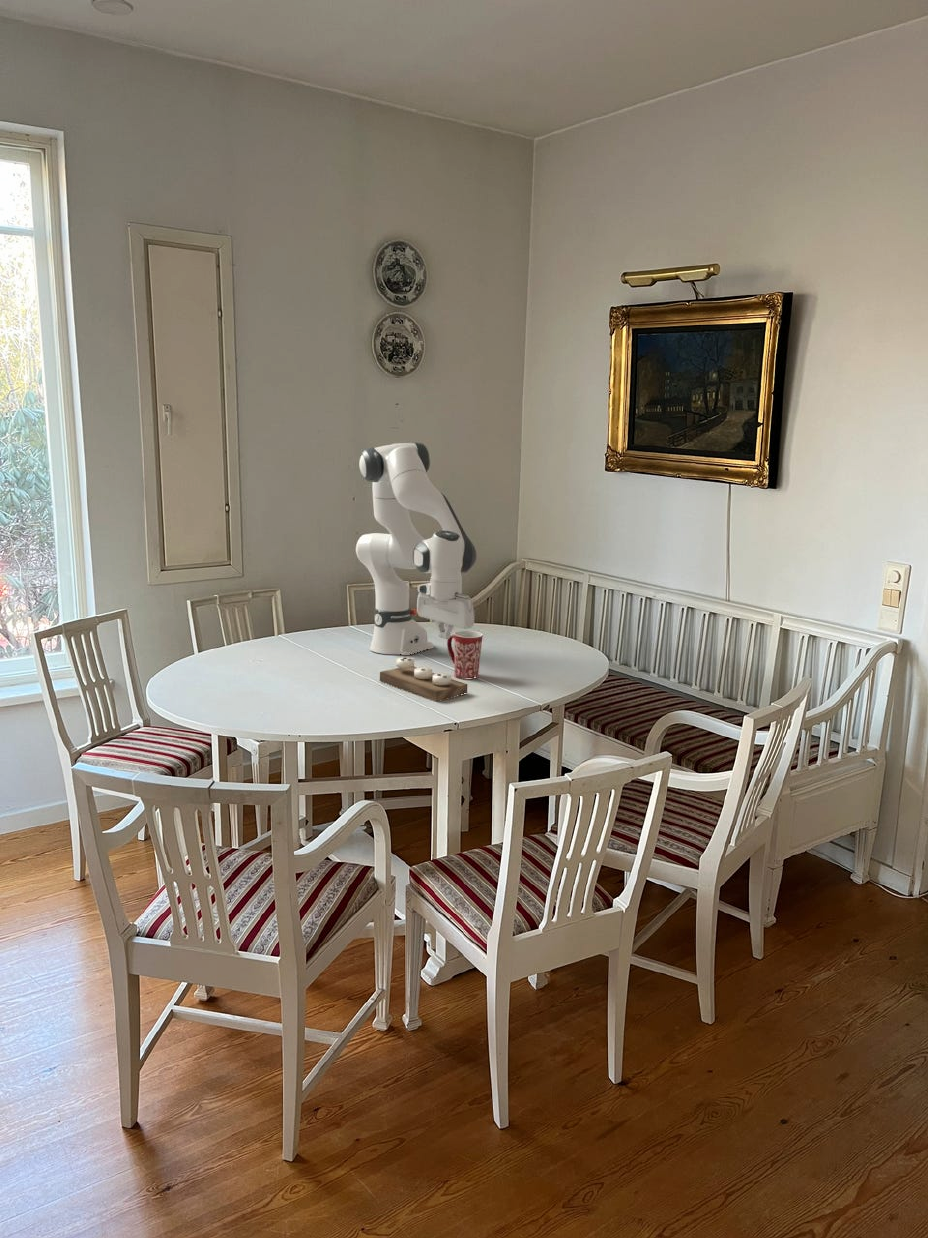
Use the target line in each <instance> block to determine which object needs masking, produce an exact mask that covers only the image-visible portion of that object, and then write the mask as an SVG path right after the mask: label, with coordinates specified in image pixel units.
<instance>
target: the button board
mask: <svg viewBox="0 0 928 1238" xmlns="http://www.w3.org/2000/svg"><path fill="white" fill-rule="evenodd" d="M416 668H418V667H417V666H414V667H413V668H399V667H396V668H392V669H388V670H387V669H386V670H382V671H380V672H379V682H380V681H381V682H380V683H382V682H384V683H383V684H385V683H387V684H386V685H388V684H389V686H391V685H392V686H391V687H393V686H394V687H393V688H396V687H397V688H396V689H399V688H400V689H399V690H402V689H403V691H405V692H407V691H408V693H410V692H411V693H410V694H414V695H416V696H418V695H419V697H421V696H422V697H421V698H423V699H427V700H429V699H430V701H432V700H433V701H432V702H435V701H436V703H438V702H441V701H440V700H442V701H445V700H444V699H446V700H448V699H447V698H450V699H452V698H451V697H454V696H457V695H461V694H464V693H467V694H468V685H469V684H468V683H465V682H462V681H458V680H456V679H454V678H451V684H449V685H435V684H433V683H432V680H433V675H434V674H436V673H435V672H432V678H429V679H418V678H415V677H414V669H416ZM454 698H455V697H454ZM437 701H438V702H437Z"/></svg>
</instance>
